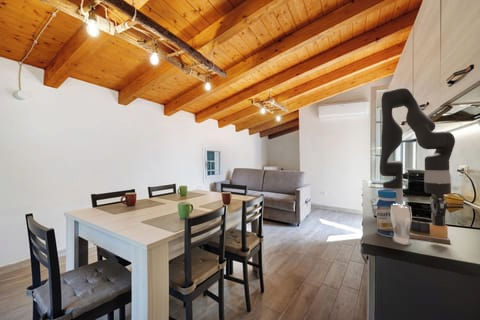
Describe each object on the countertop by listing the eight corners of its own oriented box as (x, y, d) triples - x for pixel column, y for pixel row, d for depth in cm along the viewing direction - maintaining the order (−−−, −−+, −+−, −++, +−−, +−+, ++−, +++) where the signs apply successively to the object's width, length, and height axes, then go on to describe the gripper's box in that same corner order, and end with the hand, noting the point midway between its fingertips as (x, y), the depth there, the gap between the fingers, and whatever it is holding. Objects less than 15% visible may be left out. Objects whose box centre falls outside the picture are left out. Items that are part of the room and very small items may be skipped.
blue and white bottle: (404, 236, 88) (403, 191, 88) (390, 239, 85) (389, 192, 86) (385, 230, 96) (384, 188, 96) (372, 232, 93) (371, 190, 94)
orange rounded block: (428, 233, 83) (428, 211, 83) (445, 235, 80) (445, 213, 80) (431, 237, 79) (431, 214, 79) (449, 239, 76) (448, 216, 76)
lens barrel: (406, 224, 99) (405, 215, 99) (434, 228, 93) (434, 218, 93) (408, 231, 90) (408, 221, 90) (440, 235, 84) (440, 224, 84)
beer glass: (391, 237, 87) (390, 203, 87) (412, 241, 83) (411, 205, 83) (390, 242, 82) (389, 206, 82) (412, 247, 77) (411, 208, 77)
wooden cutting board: (400, 224, 104) (400, 221, 104) (437, 229, 96) (437, 226, 96) (405, 237, 87) (405, 233, 87) (450, 244, 79) (450, 240, 79)
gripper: (421, 179, 87) (422, 219, 87) (428, 182, 76) (429, 228, 76) (445, 180, 83) (446, 221, 83) (456, 183, 71) (457, 232, 71)
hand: (438, 224), depth 79 cm, fingers closed on orange rounded block
